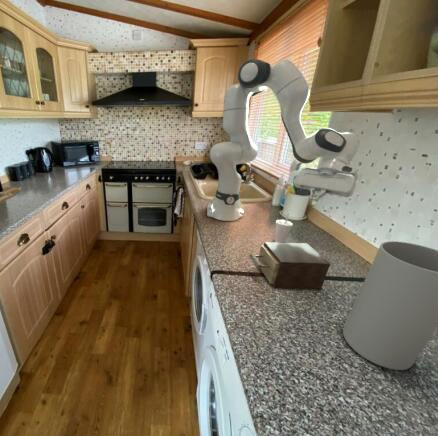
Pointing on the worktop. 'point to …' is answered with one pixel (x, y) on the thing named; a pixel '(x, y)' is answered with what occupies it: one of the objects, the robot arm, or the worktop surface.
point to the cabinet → (298, 265)
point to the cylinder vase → (395, 306)
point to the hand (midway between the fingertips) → (313, 199)
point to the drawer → (266, 263)
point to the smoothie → (282, 230)
